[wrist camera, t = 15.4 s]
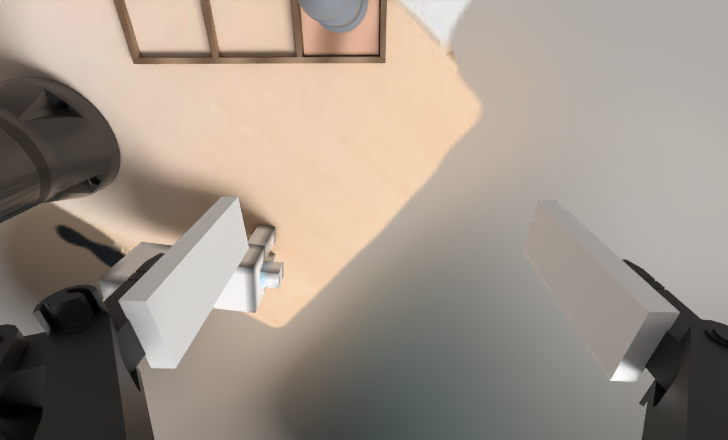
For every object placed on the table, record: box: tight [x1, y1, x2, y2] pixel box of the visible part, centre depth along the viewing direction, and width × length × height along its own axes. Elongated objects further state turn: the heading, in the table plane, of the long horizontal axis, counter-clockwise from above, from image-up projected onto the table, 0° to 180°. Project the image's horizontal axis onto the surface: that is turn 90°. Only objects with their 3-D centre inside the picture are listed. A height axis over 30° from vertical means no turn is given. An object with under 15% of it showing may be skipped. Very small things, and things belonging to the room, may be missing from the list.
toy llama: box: [98, 225, 283, 313], centre depth 42 cm, size 8×18×20 cm, turn 83°
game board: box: [114, 0, 387, 64], centre depth 35 cm, size 29×12×1 cm, turn 90°
